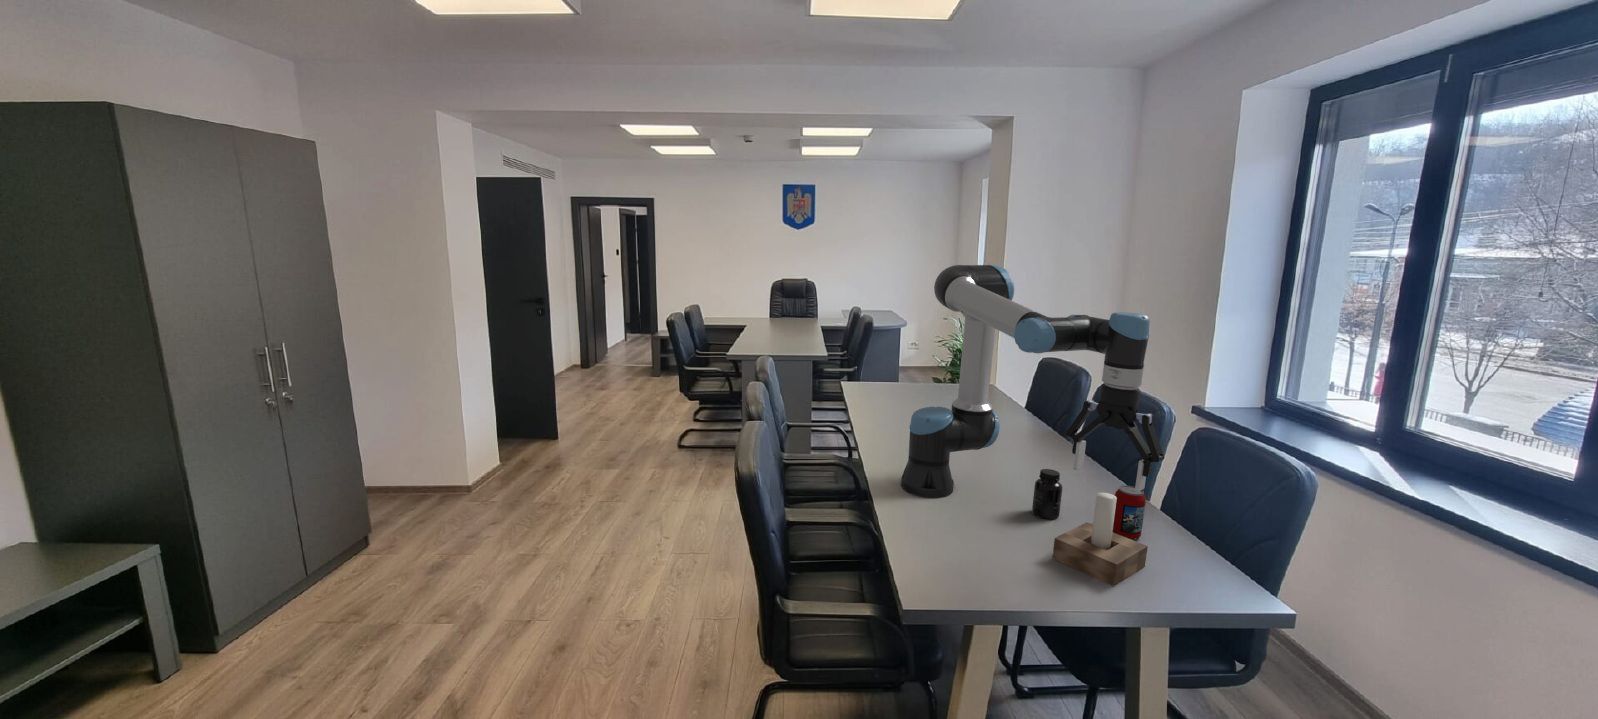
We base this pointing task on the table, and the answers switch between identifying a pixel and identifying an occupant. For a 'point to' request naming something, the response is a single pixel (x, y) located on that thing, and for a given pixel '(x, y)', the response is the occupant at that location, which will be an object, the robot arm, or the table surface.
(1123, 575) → the socket block
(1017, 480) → the table surface
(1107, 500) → the dowel
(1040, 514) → the supplement bottle
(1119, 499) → the beverage can
